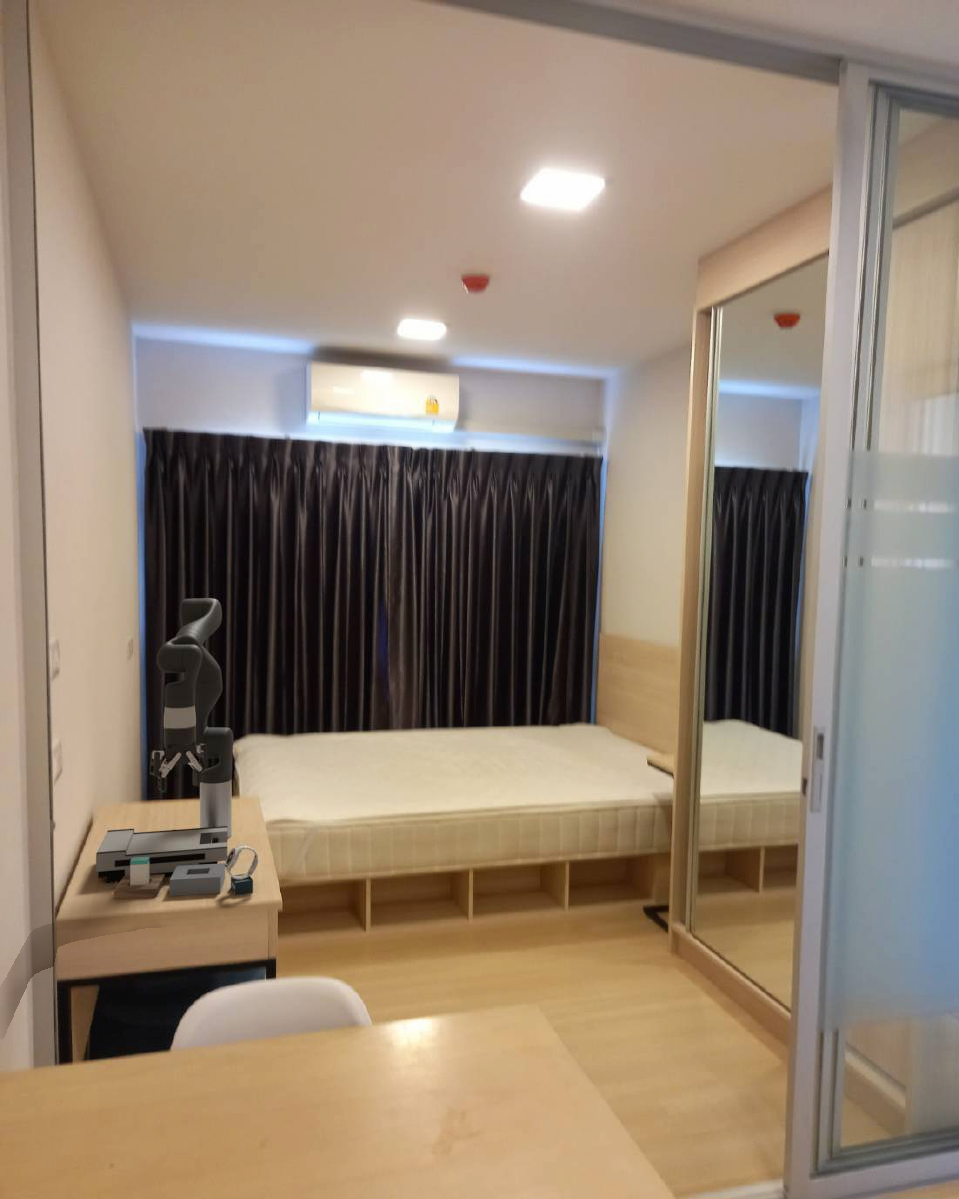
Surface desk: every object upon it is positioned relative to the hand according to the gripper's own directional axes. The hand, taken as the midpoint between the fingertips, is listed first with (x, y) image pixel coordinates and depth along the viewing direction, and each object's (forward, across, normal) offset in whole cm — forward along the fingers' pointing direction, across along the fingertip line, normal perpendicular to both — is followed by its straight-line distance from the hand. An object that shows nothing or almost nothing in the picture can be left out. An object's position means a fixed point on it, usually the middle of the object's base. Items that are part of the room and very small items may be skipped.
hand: (179, 788), depth 205 cm
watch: (+26, -11, +11) cm, 30 cm away
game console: (+26, -6, -20) cm, 33 cm away
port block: (+26, -4, +1) cm, 26 cm away
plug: (+26, +7, -7) cm, 28 cm away
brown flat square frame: (+26, +7, -7) cm, 28 cm away
